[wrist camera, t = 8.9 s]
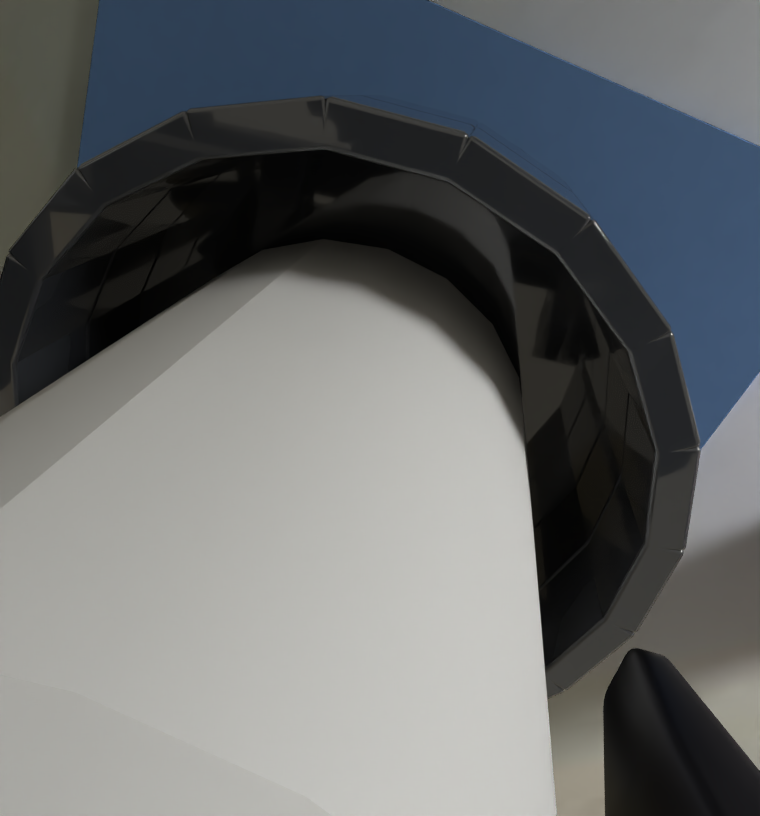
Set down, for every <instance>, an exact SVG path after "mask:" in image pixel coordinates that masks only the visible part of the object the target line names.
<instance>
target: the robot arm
mask: <svg viewBox="0 0 760 816" xmlns="http://www.w3.org/2000/svg"><path fill="white" fill-rule="evenodd" d="M603 720H604V781H605V816H760V771H759V770H758V768H757V767H756V766H755V765H754V763H753V762H752V761H751V760H750V759H749V757H748V756H747V755H746V754H745V752H744V751H743V750H742V749H741V747H740V746H739V745H738V744H737V743H736V741H735V740H734V739H733V738H732V736H731V735H730V734H729V733H728V732H727V730H726V729H725V728H724V727H723V725H722V724H721V723H720V722H719V720H718V719H717V718H716V717H715V716H714V714H713V713H712V712H711V711H710V709H709V708H708V707H707V706H706V705H705V703H704V702H703V701H702V700H701V698H700V697H699V696H698V695H697V694H696V692H695V691H694V690H693V689H692V687H691V686H690V685H689V684H688V682H687V681H686V680H685V679H684V678H683V676H682V675H681V674H680V673H679V671H678V670H677V669H676V668H675V667H674V665H673V664H672V663H671V662H670V661H669V660H668V659H667V658H666V657H665V656H662V655H660V654H656V653H653V652H649V651H645V650H642V649H638V648H635V649H631V650H630V651H628V653H627V654H626V655H625V657H624V659H623V661H622V663H621V665H620V666H619V668H618V670H617V672H616V674H615V676H614V677H613V679H612V681H611V683H610V685H609V687H608V689H607V691H606V694H605V698H604V706H603Z"/></svg>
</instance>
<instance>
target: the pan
mask: <svg viewBox="0 0 760 816" xmlns="http://www.w3.org/2000/svg"><path fill="white" fill-rule="evenodd" d="M321 239H327V240H333V241H339V242H346V243H352V244H359V245H365V246H371V247H378V248H384V249H389V250H391V251H393V252H395V253H397V254H399V255H401V256H403V257H405V258H407V259H409V260H410V261H412V262H414V263H416V264H418V265H420V266H422V267H424V268H426V269H428V270H430V271H432V272H434V273H436V274H438V275H440V276H442V277H444V278H446V279H447V280H448V281H449V282H451V283H452V284H453V285H454V286H455V287H456V288H457V289H458V290H459V291H460V292H461V293H462V294H463V295H464V296H465V297H466V298H467V299H468V300H469V301H470V302H471V303H472V304H473V305H474V306H475V307H476V308H477V309H478V310H479V311H480V312H481V313H482V314H483V315H484V316H485V317H486V318H487V319H488V320H489V321H490V322H491V323H492V324H493V326H494V328H495V330H496V332H497V334H498V336H499V338H500V340H501V342H502V344H503V346H504V348H505V350H506V352H507V354H508V356H509V358H510V360H511V363H512V365H513V367H514V369H515V371H516V373H517V375H518V377H519V381H520V390H521V399H522V407H523V416H524V425H525V434H526V446H527V458H528V470H529V483H530V495H531V507H532V519H533V531H534V543H535V555H536V568H537V580H538V592H539V604H540V616H541V628H542V641H543V653H544V665H545V677H546V689H547V699H549V698H551V697H553V696H556V695H558V694H561V693H562V692H563V691H564V690H568V689H569V688H570V687H572V686H573V685H574V684H575V683H576V682H578V681H579V680H580V679H581V678H583V677H584V676H585V675H586V674H587V673H589V672H590V671H591V670H592V669H594V668H595V667H596V666H597V665H598V664H600V663H601V662H602V661H603V660H605V659H606V658H607V657H608V656H609V655H611V654H612V653H613V652H614V651H616V650H617V649H618V648H619V647H620V646H622V645H623V644H624V643H625V642H627V641H628V640H629V639H630V638H632V637H633V635H634V632H637V631H638V629H639V628H640V626H641V624H642V623H643V621H644V619H645V618H646V616H647V614H648V613H649V611H650V609H651V608H652V606H653V604H654V603H655V601H656V599H657V598H658V596H659V594H660V593H661V591H662V589H663V588H664V586H665V584H666V583H667V581H668V579H669V577H670V576H671V574H672V572H673V571H674V569H675V567H676V566H677V564H678V562H679V561H680V559H681V557H682V556H683V550H684V549H685V548H686V543H687V537H688V530H689V523H690V517H691V510H692V504H693V497H694V491H695V484H696V478H697V471H698V465H699V458H700V452H701V450H700V447H699V446H700V437H699V433H698V429H697V425H696V421H695V417H694V413H693V409H692V405H691V401H690V397H689V393H688V389H687V385H686V381H685V377H684V372H683V368H682V364H681V360H680V356H679V352H678V348H677V344H676V340H675V336H674V333H673V332H672V331H671V326H670V324H669V323H668V321H667V320H666V319H665V317H664V316H663V314H662V313H661V312H660V310H659V309H658V307H657V306H656V304H655V303H654V302H653V300H652V299H651V297H650V296H649V295H648V293H647V292H646V290H645V289H644V288H643V286H642V285H641V283H640V282H639V281H638V279H637V278H636V276H635V275H634V273H633V272H632V271H631V269H630V268H629V266H628V265H627V264H626V262H625V261H624V259H623V258H622V257H621V255H620V254H619V252H618V251H617V250H616V248H615V247H614V245H613V244H612V242H611V241H610V240H609V238H608V237H607V235H606V234H605V233H604V231H603V230H602V228H601V227H600V226H599V224H598V223H597V221H596V220H595V219H594V217H593V216H592V215H591V214H590V212H589V211H588V210H587V208H586V207H585V206H584V205H583V203H582V202H581V201H580V199H579V198H578V197H577V196H576V194H575V193H574V192H573V190H572V189H571V188H570V187H569V185H568V184H567V183H566V182H565V181H564V180H562V178H561V177H560V176H559V175H557V174H556V173H554V172H553V171H551V170H550V169H549V168H547V167H546V166H544V165H543V164H541V163H540V162H538V161H537V160H535V159H534V158H533V157H531V156H530V155H529V154H527V153H526V152H525V151H524V150H522V149H521V148H520V147H518V146H516V145H514V144H513V143H511V142H509V141H508V140H506V139H505V138H504V137H502V136H501V135H499V134H498V133H496V132H495V131H493V130H492V129H491V128H489V127H488V126H486V125H485V124H483V123H478V121H477V120H475V119H471V118H467V117H464V116H460V115H456V114H452V113H449V112H446V111H442V110H438V109H434V108H430V107H426V106H422V105H418V104H414V103H410V102H407V101H403V100H399V99H395V98H391V97H388V96H384V95H318V96H308V97H298V98H287V99H277V100H267V101H257V102H247V103H237V104H227V105H217V106H206V107H196V108H190V109H188V110H187V111H181V112H179V113H177V114H175V115H173V116H171V117H169V118H168V119H166V120H164V121H162V122H160V123H158V124H156V125H154V126H152V127H150V128H149V129H147V130H145V131H143V132H141V133H139V134H137V135H135V136H133V137H131V138H129V139H128V140H126V141H124V142H122V143H120V144H118V145H116V146H114V147H112V148H110V149H109V150H107V151H105V152H103V153H101V154H99V155H97V156H95V157H93V158H91V159H89V160H88V161H86V162H84V163H82V164H81V165H80V166H79V167H78V168H75V169H74V170H73V171H72V172H71V174H70V175H69V176H68V177H67V179H66V180H65V181H64V182H63V184H62V185H61V186H60V187H59V189H58V190H57V191H56V192H55V193H54V195H53V196H52V197H51V198H50V200H49V201H48V202H47V203H46V205H45V206H44V207H43V208H42V210H41V211H40V212H39V213H38V215H37V216H36V217H35V218H34V219H33V221H32V222H31V223H30V224H29V226H28V227H27V228H26V229H25V231H24V232H23V233H22V234H21V236H20V237H19V238H18V239H17V241H16V242H15V243H14V244H13V246H12V247H11V248H10V249H9V254H8V255H7V257H6V261H5V264H4V268H3V271H2V275H1V278H0V417H1V416H2V415H4V414H6V413H7V412H9V411H10V410H12V409H13V408H15V407H16V406H18V405H19V404H21V403H22V402H24V401H26V400H27V399H29V398H30V397H32V396H33V395H35V394H36V393H38V392H39V391H41V390H42V389H44V388H46V387H47V386H49V385H50V384H52V383H53V382H55V381H56V380H58V379H59V378H61V377H62V376H64V375H66V374H67V373H69V372H70V371H72V370H73V369H75V368H76V367H78V366H79V365H81V364H82V363H84V362H86V361H87V360H89V359H90V358H92V357H93V356H95V355H96V354H98V353H99V352H101V351H102V350H104V349H106V348H107V347H109V346H110V345H112V344H113V343H115V342H116V341H118V340H119V339H121V338H122V337H124V336H126V335H127V334H129V333H130V332H132V331H133V330H135V329H136V328H138V327H139V326H141V325H142V324H144V323H146V322H147V321H149V320H150V319H152V318H153V317H155V316H156V315H158V314H159V313H161V312H162V311H164V310H166V309H167V308H169V307H170V306H172V305H173V304H175V303H176V302H178V301H179V300H181V299H182V298H184V297H186V296H187V295H189V294H190V293H192V292H193V291H195V290H196V289H198V288H199V287H201V286H202V285H204V284H206V283H207V282H209V281H210V280H212V279H213V278H215V277H217V276H218V275H220V274H222V273H224V272H225V271H227V270H229V269H230V268H232V267H234V266H236V265H237V264H239V263H241V262H243V261H244V260H246V259H248V258H249V257H251V256H253V255H255V254H256V253H258V252H260V251H262V250H264V249H270V248H275V247H281V246H287V245H292V244H298V243H304V242H310V241H315V240H321Z"/></svg>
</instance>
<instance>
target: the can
mask: <svg viewBox="0 0 760 816" xmlns="http://www.w3.org/2000/svg"><path fill="white" fill-rule="evenodd" d="M0 816H557V811H556V799H555V786H554V774H553V762H552V750H551V738H550V726H549V714H548V701H547V689H546V677H545V665H544V653H543V641H542V628H541V616H540V604H539V592H538V580H537V568H536V555H535V543H534V531H533V519H532V507H531V495H530V483H529V470H528V458H527V446H526V434H525V425H524V416H523V407H522V399H521V390H520V381H519V377H518V375H517V373H516V371H515V369H514V367H513V365H512V363H511V360H510V358H509V356H508V354H507V352H506V350H505V348H504V346H503V344H502V342H501V340H500V338H499V336H498V334H497V332H496V330H495V328H494V326H493V324H492V323H491V322H490V321H489V320H488V319H487V318H486V317H485V316H484V315H483V314H482V313H481V312H480V311H479V310H478V309H477V308H476V307H475V306H474V305H473V304H472V303H471V302H470V301H469V300H468V299H467V298H466V297H465V296H464V295H463V294H462V293H461V292H460V291H459V290H458V289H457V288H456V287H455V286H454V285H453V284H452V283H451V282H449V281H448V280H447V279H446V278H444V277H442V276H440V275H438V274H436V273H434V272H432V271H430V270H428V269H426V268H424V267H422V266H420V265H418V264H416V263H414V262H412V261H410V260H409V259H407V258H405V257H403V256H401V255H399V254H397V253H395V252H393V251H391V250H389V249H384V248H378V247H371V246H365V245H359V244H352V243H346V242H339V241H333V240H327V239H321V240H315V241H310V242H304V243H298V244H292V245H287V246H281V247H275V248H270V249H264V250H262V251H260V252H258V253H256V254H255V255H253V256H251V257H249V258H248V259H246V260H244V261H243V262H241V263H239V264H237V265H236V266H234V267H232V268H230V269H229V270H227V271H225V272H224V273H222V274H220V275H218V276H217V277H215V278H213V279H212V280H210V281H209V282H207V283H206V284H204V285H202V286H201V287H199V288H198V289H196V290H195V291H193V292H192V293H190V294H189V295H187V296H186V297H184V298H182V299H181V300H179V301H178V302H176V303H175V304H173V305H172V306H170V307H169V308H167V309H166V310H164V311H162V312H161V313H159V314H158V315H156V316H155V317H153V318H152V319H150V320H149V321H147V322H146V323H144V324H142V325H141V326H139V327H138V328H136V329H135V330H133V331H132V332H130V333H129V334H127V335H126V336H124V337H122V338H121V339H119V340H118V341H116V342H115V343H113V344H112V345H110V346H109V347H107V348H106V349H104V350H102V351H101V352H99V353H98V354H96V355H95V356H93V357H92V358H90V359H89V360H87V361H86V362H84V363H82V364H81V365H79V366H78V367H76V368H75V369H73V370H72V371H70V372H69V373H67V374H66V375H64V376H62V377H61V378H59V379H58V380H56V381H55V382H53V383H52V384H50V385H49V386H47V387H46V388H44V389H42V390H41V391H39V392H38V393H36V394H35V395H33V396H32V397H30V398H29V399H27V400H26V401H24V402H22V403H21V404H19V405H18V406H16V407H15V408H13V409H12V410H10V411H9V412H7V413H6V414H4V415H2V416H1V417H0Z"/></svg>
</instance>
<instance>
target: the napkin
mask: <svg viewBox="0 0 760 816" xmlns="http://www.w3.org/2000/svg"><path fill="white" fill-rule="evenodd" d="M318 95H384V96H388V97H391V98H395V99H399V100H403V101H407V102H410V103H414V104H418V105H422V106H426V107H430V108H434V109H438V110H442V111H446V112H449V113H452V114H456V115H460V116H464V117H467V118H471V119H475V120H477V121H478V123H483V124H485V125H486V126H488V127H489V128H491V129H492V130H493V131H495V132H496V133H498V134H499V135H501V136H502V137H504V138H505V139H506V140H508V141H509V142H511V143H513V144H514V145H516V146H518V147H520V148H521V149H522V150H524V151H525V152H526V153H527V154H529V155H530V156H531V157H533V158H534V159H535V160H537V161H538V162H540V163H541V164H543V165H544V166H546V167H547V168H549V169H550V170H551V171H553V172H554V173H556V174H557V175H559V176H560V177H561V178H562V180H564V181H565V182H566V183H567V184H568V185H569V187H570V188H571V189H572V190H573V192H574V193H575V194H576V196H577V197H578V198H579V199H580V201H581V202H582V203H583V205H584V206H585V207H586V208H587V210H588V211H589V212H590V214H591V215H592V216H593V217H594V219H595V220H596V221H597V223H598V224H599V226H600V227H601V228H602V230H603V231H604V233H605V234H606V235H607V237H608V238H609V240H610V241H611V242H612V244H613V245H614V247H615V248H616V250H617V251H618V252H619V254H620V255H621V257H622V258H623V259H624V261H625V262H626V264H627V265H628V266H629V268H630V269H631V271H632V272H633V273H634V275H635V276H636V278H637V279H638V281H639V282H640V283H641V285H642V286H643V288H644V289H645V290H646V292H647V293H648V295H649V296H650V297H651V299H652V300H653V302H654V303H655V304H656V306H657V307H658V309H659V310H660V312H661V313H662V314H663V316H664V317H665V319H666V320H667V321H668V323H669V324H670V326H671V331H672V332H673V333H674V336H675V340H676V344H677V348H678V352H679V356H680V360H681V364H682V368H683V372H684V377H685V381H686V385H687V389H688V393H689V397H690V401H691V405H692V409H693V413H694V417H695V421H696V425H697V429H698V433H699V437H700V446H699V447H700V450H701V448H702V447H703V446H704V445H705V443H706V442H707V441H708V439H709V438H710V437H711V435H712V434H713V433H714V431H715V430H716V429H717V427H718V426H719V425H720V423H721V422H722V421H723V419H724V418H725V417H726V416H727V414H728V413H729V412H730V410H731V409H732V408H733V406H734V405H735V404H736V402H737V401H738V400H739V398H740V397H741V396H742V394H743V393H744V392H745V391H746V389H747V388H748V387H749V385H750V384H751V383H752V381H753V380H754V379H755V377H756V376H757V375H758V373H759V372H760V146H758V145H755V144H753V143H751V142H749V141H746V140H744V139H742V138H740V137H737V136H735V135H733V134H730V133H728V132H726V131H724V130H721V129H719V128H717V127H715V126H712V125H710V124H708V123H705V122H703V121H701V120H699V119H696V118H694V117H692V116H690V115H687V114H685V113H683V112H681V111H678V110H676V109H674V108H671V107H669V106H667V105H665V104H662V103H660V102H658V101H656V100H653V99H651V98H649V97H646V96H644V95H642V94H640V93H637V92H635V91H633V90H631V89H628V88H626V87H624V86H622V85H619V84H617V83H615V82H612V81H610V80H608V79H606V78H603V77H601V76H599V75H597V74H594V73H592V72H590V71H587V70H585V69H583V68H581V67H578V66H576V65H574V64H572V63H569V62H567V61H565V60H563V59H560V58H558V57H556V56H553V55H551V54H549V53H547V52H544V51H542V50H540V49H538V48H535V47H533V46H531V45H528V44H526V43H524V42H522V41H519V40H517V39H515V38H513V37H510V36H508V35H506V34H504V33H501V32H499V31H497V30H494V29H492V28H490V27H488V26H485V25H483V24H481V23H479V22H476V21H474V20H472V19H469V18H467V17H465V16H463V15H460V14H458V13H456V12H454V11H451V10H449V9H447V8H445V7H442V6H440V5H438V4H435V3H433V2H431V1H429V0H99V7H98V14H97V22H96V29H95V37H94V44H93V52H92V59H91V67H90V74H89V82H88V90H87V97H86V105H85V112H84V120H83V127H82V135H81V142H80V150H79V157H78V165H77V168H78V167H79V166H80V165H81V164H82V163H84V162H86V161H88V160H89V159H91V158H93V157H95V156H97V155H99V154H101V153H103V152H105V151H107V150H109V149H110V148H112V147H114V146H116V145H118V144H120V143H122V142H124V141H126V140H128V139H129V138H131V137H133V136H135V135H137V134H139V133H141V132H143V131H145V130H147V129H149V128H150V127H152V126H154V125H156V124H158V123H160V122H162V121H164V120H166V119H168V118H169V117H171V116H173V115H175V114H177V113H179V112H181V111H187V110H188V109H190V108H196V107H206V106H217V105H227V104H237V103H247V102H257V101H267V100H277V99H287V98H298V97H308V96H318Z"/></svg>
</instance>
